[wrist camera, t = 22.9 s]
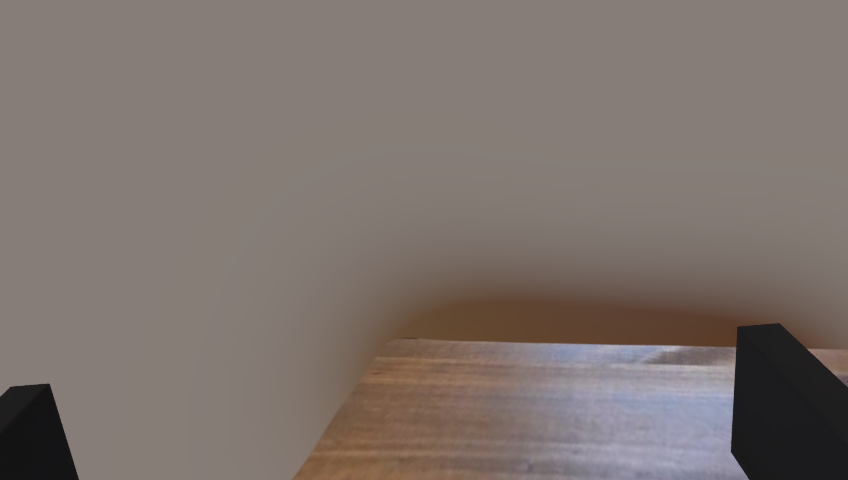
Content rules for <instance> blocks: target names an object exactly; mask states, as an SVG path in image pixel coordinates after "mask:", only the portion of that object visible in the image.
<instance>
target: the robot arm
mask: <svg viewBox="0 0 848 480" xmlns="http://www.w3.org/2000/svg"><path fill="white" fill-rule="evenodd" d="M731 453H732V454H733V456H734V457H735V459H736V460H737V462H738V463H739V465H740V466H741V468H742V469H743V471H744V472H745V474H746V475H747V477H748V479H749V480H848V387H847V386H846V385H845V384H843V383H842V382H841V381H840V380H839V379H838V378H837V377H836V376H835V375H834V374H833V373H832V372H831V371H830V370H829V369H827V368H826V367H825V366H824V365H823V364H822V363H821V362H820V361H819V360H818V359H817V358H816V357H815V356H814V355H813V354H812V353H810V352H809V351H808V350H807V349H806V348H805V347H804V346H803V345H802V344H801V343H800V342H799V341H798V340H797V339H796V338H794V337H793V336H792V335H791V334H790V333H789V332H788V331H787V330H786V329H785V328H784V327H783V326H782V325H781V324H780V323H778V324H765V325H753V326H741V327H738V329H737V346H736V365H735V384H734V403H733V422H732V440H731ZM0 480H79V478H78V475H77V472H76V469H75V465H74V462H73V459H72V456H71V452H70V449H69V446H68V443H67V439H66V436H65V433H64V429H63V426H62V423H61V420H60V416H59V413H58V410H57V406H56V403H55V400H54V397H53V393H52V390H51V387H50V384H38V385H26V386H14V387H10V388H9V389H8V390H7V391H6V392H5V393H4V394H3V395H2V396H1V397H0Z"/></svg>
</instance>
